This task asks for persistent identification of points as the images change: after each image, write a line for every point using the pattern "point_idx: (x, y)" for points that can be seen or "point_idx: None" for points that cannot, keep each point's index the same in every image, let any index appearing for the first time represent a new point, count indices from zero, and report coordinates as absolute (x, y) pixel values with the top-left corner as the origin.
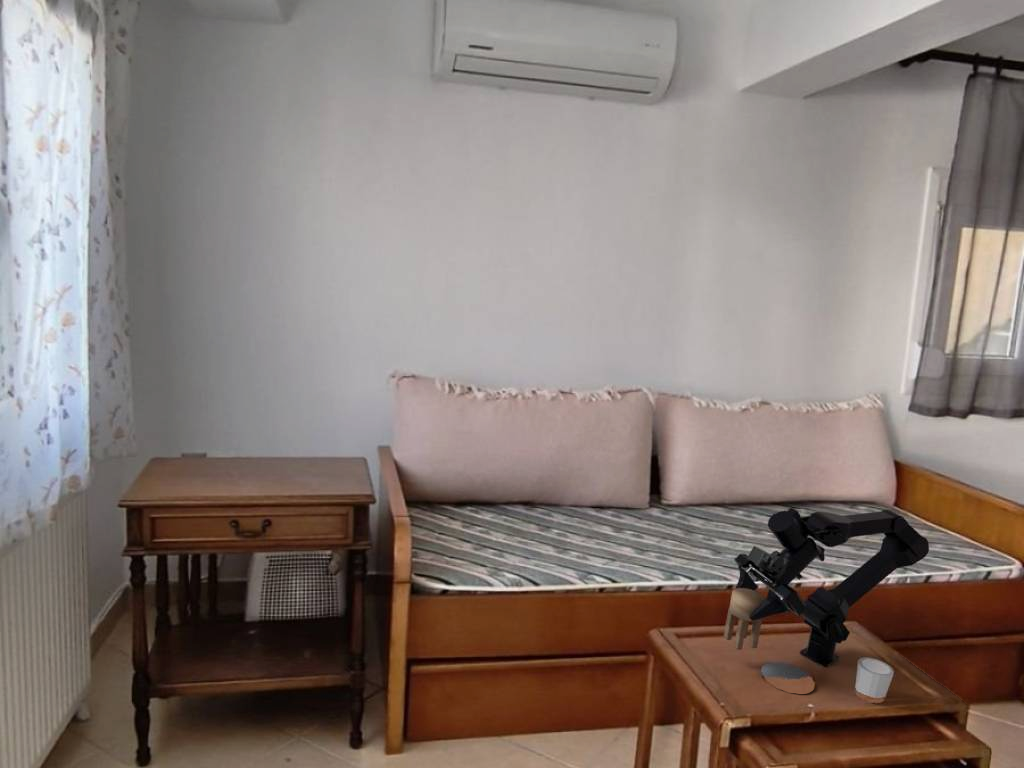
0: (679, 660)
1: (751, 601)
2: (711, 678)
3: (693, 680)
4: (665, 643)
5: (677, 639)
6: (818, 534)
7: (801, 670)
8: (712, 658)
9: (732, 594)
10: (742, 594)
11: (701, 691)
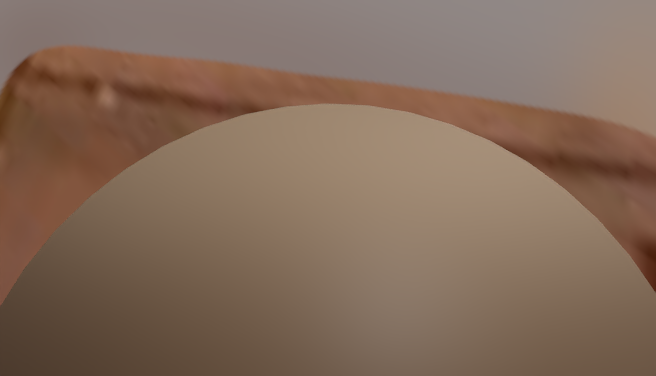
0: (446, 120)
1: (97, 310)
2: None
3: (289, 85)
4: (597, 144)
5: (626, 229)
6: None
7: None
8: None
9: (481, 143)
10: (423, 340)
11: (209, 68)
